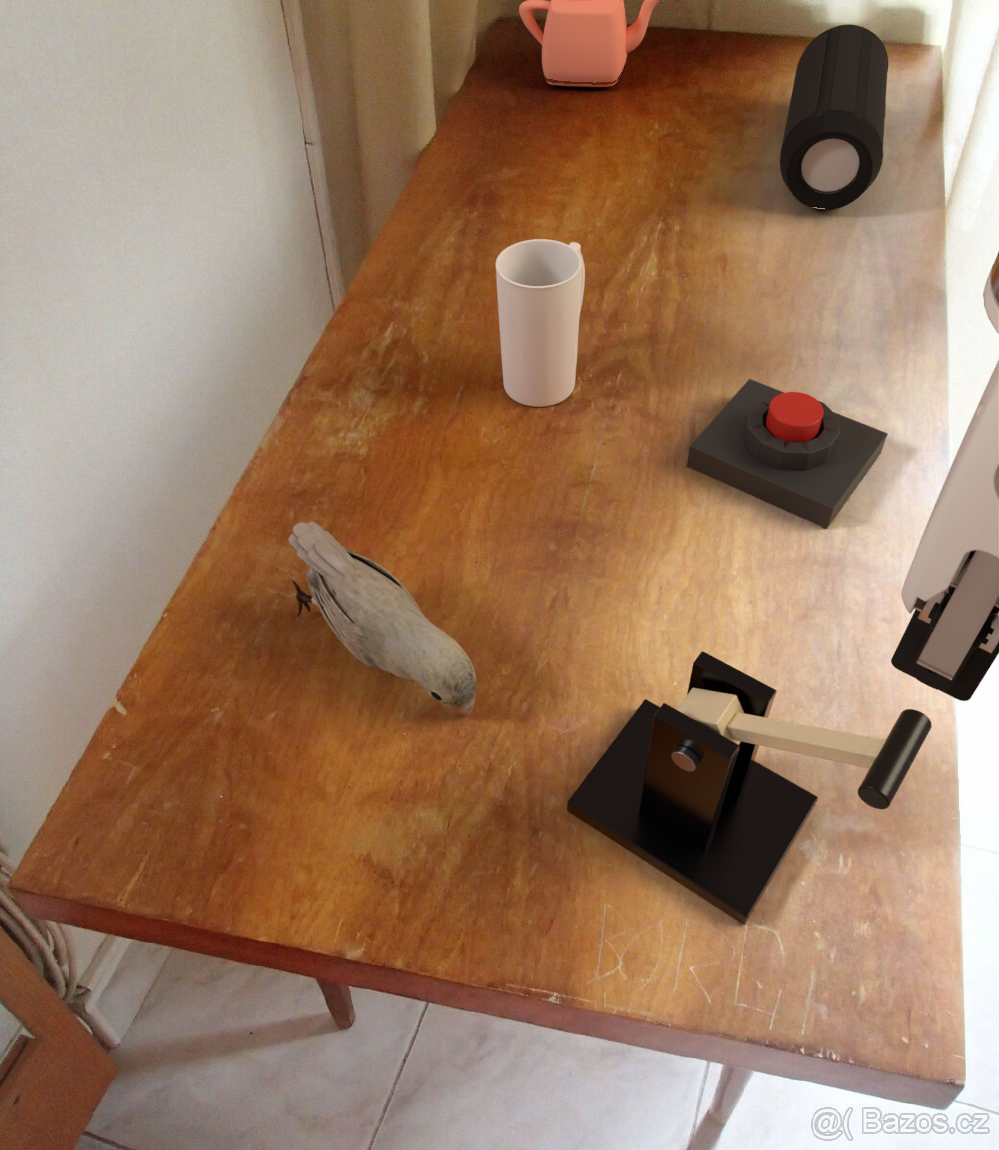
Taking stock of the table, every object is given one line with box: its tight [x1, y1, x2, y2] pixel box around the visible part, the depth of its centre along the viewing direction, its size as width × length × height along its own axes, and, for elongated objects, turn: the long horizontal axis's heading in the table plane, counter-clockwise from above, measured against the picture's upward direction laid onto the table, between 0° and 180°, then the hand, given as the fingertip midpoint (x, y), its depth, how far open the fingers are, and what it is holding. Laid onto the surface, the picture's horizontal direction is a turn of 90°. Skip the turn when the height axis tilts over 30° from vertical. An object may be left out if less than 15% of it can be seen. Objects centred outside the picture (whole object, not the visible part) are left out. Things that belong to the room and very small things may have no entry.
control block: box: [686, 378, 888, 530], centre depth 77 cm, size 12×10×4 cm
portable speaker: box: [779, 24, 889, 211], centre depth 105 cm, size 26×10×10 cm, turn 165°
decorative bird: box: [287, 521, 478, 718], centre depth 65 cm, size 5×16×8 cm, turn 47°
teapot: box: [518, 0, 661, 88], centre depth 121 cm, size 12×18×10 cm, turn 81°
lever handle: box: [676, 688, 933, 810], centre depth 49 cm, size 12×5×2 cm
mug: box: [495, 238, 586, 408], centre depth 82 cm, size 10×7×12 cm, turn 144°
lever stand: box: [566, 650, 819, 926], centre depth 55 cm, size 12×9×12 cm
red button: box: [766, 391, 824, 443], centre depth 75 cm, size 4×4×2 cm
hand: (934, 670), depth 40 cm, fingers closed
